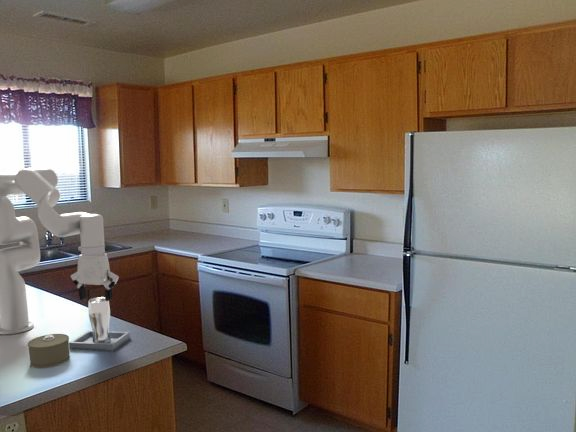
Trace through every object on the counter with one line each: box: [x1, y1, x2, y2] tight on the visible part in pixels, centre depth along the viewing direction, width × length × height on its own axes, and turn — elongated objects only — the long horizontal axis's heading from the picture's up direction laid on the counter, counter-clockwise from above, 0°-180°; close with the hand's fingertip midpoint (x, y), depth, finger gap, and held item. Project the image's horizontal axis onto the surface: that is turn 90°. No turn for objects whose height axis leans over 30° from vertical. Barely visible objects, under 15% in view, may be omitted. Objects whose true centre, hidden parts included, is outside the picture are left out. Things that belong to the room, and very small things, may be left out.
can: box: [27, 333, 71, 369], centre depth 166 cm, size 12×12×7 cm
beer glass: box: [87, 296, 111, 343], centre depth 179 cm, size 7×7×15 cm
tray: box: [69, 330, 131, 352], centre depth 180 cm, size 16×12×2 cm
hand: (95, 299), depth 178 cm, fingers open, 9 cm apart
